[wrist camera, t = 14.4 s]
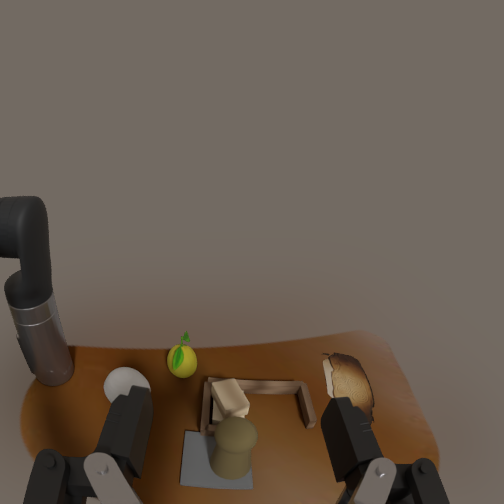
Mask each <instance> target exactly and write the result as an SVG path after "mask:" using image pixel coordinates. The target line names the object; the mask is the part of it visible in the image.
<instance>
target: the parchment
mask: <svg viewBox="0 0 504 504" xmlns="http://www.w3.org/2000/svg"><path fill="white" fill-rule="evenodd" d="M323 355H324V353H323ZM325 355H329V354H326V353H325ZM323 366H324V371H325V376H326V382H327V390H328V394H329V395H330V396H331V397H332V398H336V397H349V398H350V400H351V402H352V405H353V407H354V406H358V407H359V408H360V409H361V410H362V411H363V412H364V413H365V415H366V417H367V419H368V422H369V424H370V425H371V423H372V421H374V418H373V416H372V408H373V407H374V398H373V393H372V390H371V386H370V383H369V380H368V379H367V376H366V374H365V372H364V370H363V368H362V367H361V364H360V363H359V361H358V360H357V359H355V358H354V357H352V356H349V355H344V354H339V353H334V355H331V356H329V358H328V359H326V360H324V361H323ZM372 418H373V419H372Z"/></svg>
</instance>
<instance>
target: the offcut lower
mask: <svg viewBox="0 0 504 504" xmlns="http://www.w3.org/2000/svg"><path fill="white" fill-rule="evenodd" d="M242 392H243V393H244V391H242ZM239 417H243V418H244V415H243V416H239ZM222 420H223V417H222V415H221V413H220V411H219V409H218V407H217V405H216V403H215V401H214V404H213V419H212V425H218V424H219V422H221V421H222Z"/></svg>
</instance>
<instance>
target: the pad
mask: <svg viewBox="0 0 504 504" xmlns="http://www.w3.org/2000/svg"><path fill="white" fill-rule="evenodd" d="M215 446H216V441H215V437H212V436H201V432H192V431H185V440H184V449H183V458H182V468H181V479H180V485H185V486H193V487H203V488H217V489H253V481H252V468H250V470H249V472H248V473H247V474H246V475H245V476H244V477H242V478H240V479H235V480H228V479H224V478H221V477H219V476H218V475H216V474H215V473H214V472H213V471H212V469H211V467H210V458H211V455H212V453H213V451H214V448H215Z"/></svg>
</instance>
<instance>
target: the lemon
mask: <svg viewBox="0 0 504 504" xmlns="http://www.w3.org/2000/svg"><path fill="white" fill-rule="evenodd" d="M182 340H185V341H187V342H189V341H190V339H189V336H188V333H187V331H186V332H185V334H184V336H183V339H182V336H181V344H178V345H176V346H174V347H172V349H171V350H170V351H169V354H168V357H167V364H168V368H169V370H170V371H171V372H172V373H173V374H174V375H175V376H177V377H179V378H187V377H190V376H191V375H193V373H194V372H195V370H196V367H197V359H196V355H195V353H194V351H193V350H192V349H191V348H190V347H189V346H187V345H185V344H183V343H182Z"/></svg>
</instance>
